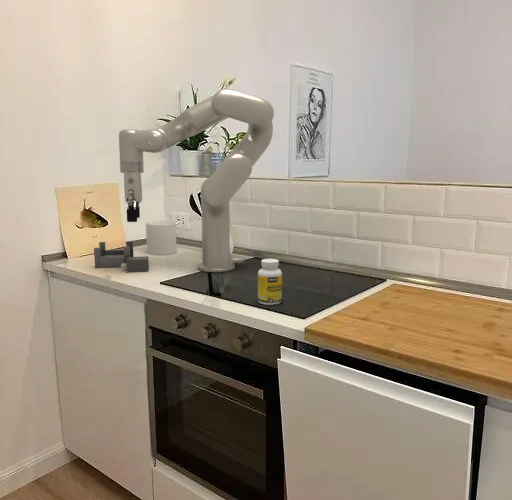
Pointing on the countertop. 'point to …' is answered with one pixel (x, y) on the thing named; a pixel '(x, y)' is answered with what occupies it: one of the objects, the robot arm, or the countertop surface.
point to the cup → (161, 237)
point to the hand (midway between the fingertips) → (133, 219)
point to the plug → (136, 264)
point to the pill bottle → (269, 282)
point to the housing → (112, 255)
